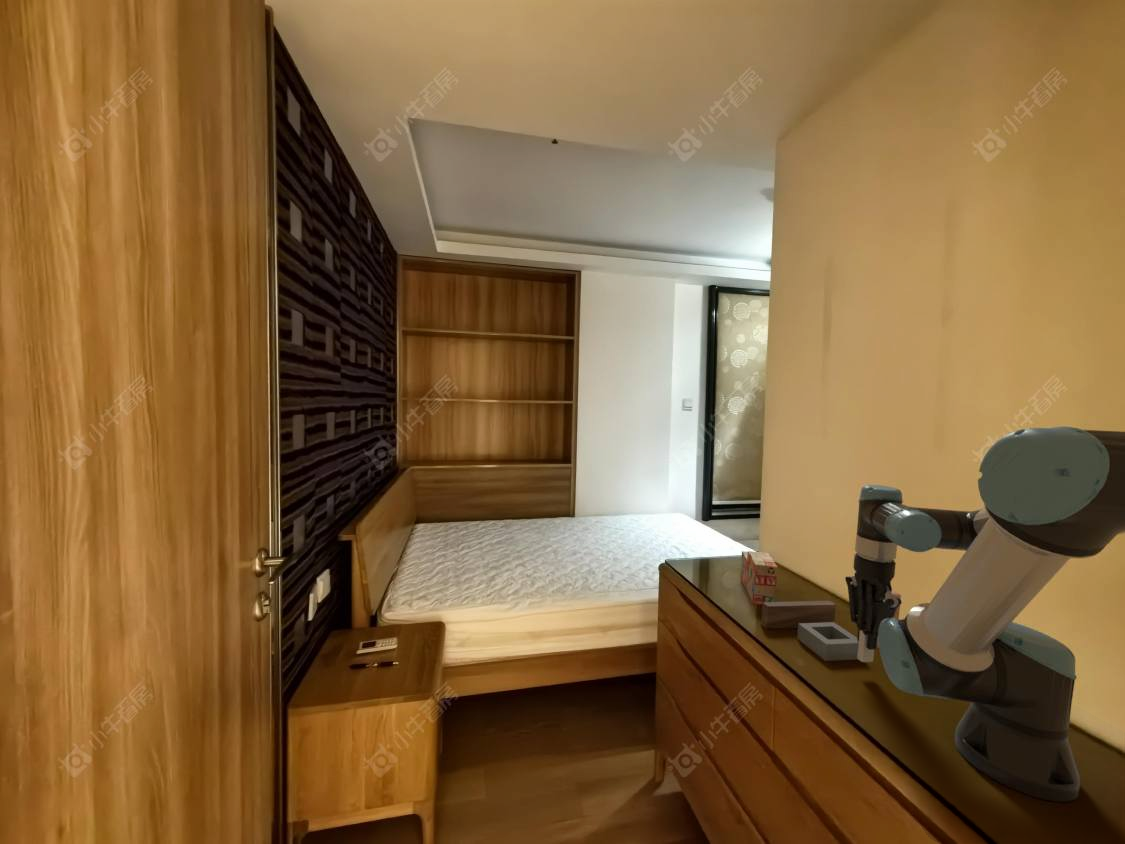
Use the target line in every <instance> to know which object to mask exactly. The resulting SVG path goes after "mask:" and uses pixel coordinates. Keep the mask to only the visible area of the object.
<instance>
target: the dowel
mask: <svg viewBox="0 0 1125 844" xmlns="http://www.w3.org/2000/svg"><path fill="white" fill-rule="evenodd" d="M891 593H892V594H893V595H894V597H895V598H899V599H900V600H901V598H902V595H901V593H899V592H897V591H894V590H892V592H891ZM901 601H902V600H901ZM900 608H901V605H900V606H899V607H898V608H897V609H896V612H895V614H894V617H893V618H896V619H898V620H900V610H901V609H900ZM877 648H878V649H879V642H878V639H877ZM877 648H876V649H877Z"/></svg>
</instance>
